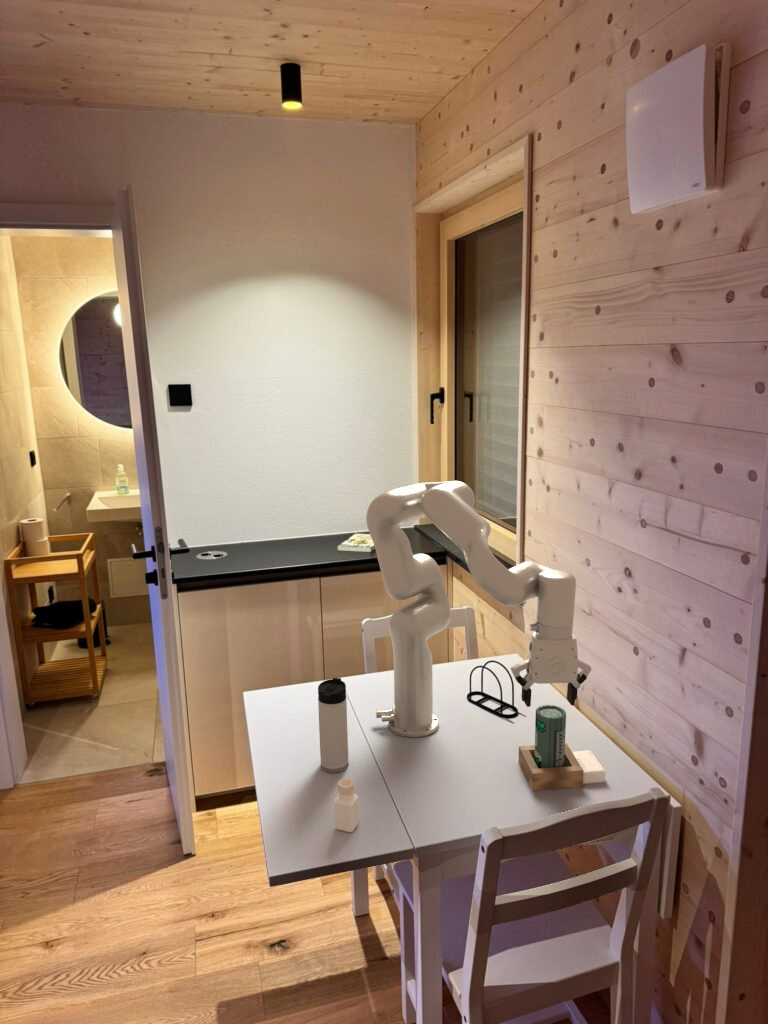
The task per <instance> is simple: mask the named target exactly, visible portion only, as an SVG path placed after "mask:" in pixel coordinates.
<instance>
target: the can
mask: <svg viewBox="0 0 768 1024" xmlns="http://www.w3.org/2000/svg"><path fill="white" fill-rule="evenodd" d="M564 709H565V708H562V707H561V706H557V705H553V704H552V705H550V704H544V705H542V706H541V705H539V706H538V707H537V708H536V709H535V720H534V722H535V724H534V725H535V726H534V727H535V728H534V729H535V730H534V745H535V758H534V761H535V763H536V765H537V767H538V769H539V768H555V767H564V759H565V743H566V729H567V728H566V727H567V726H566V725H567V712H566V711H565V710H564Z"/></svg>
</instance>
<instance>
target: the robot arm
mask: <svg viewBox="0 0 768 1024" xmlns="http://www.w3.org/2000/svg"><path fill="white" fill-rule="evenodd" d="M475 504H476V495H475V493H474V491H473V489H472V488H471V487H470V486H469V484H467V483H465V482H462V481H459V480H449V481H436V482H434V481H433V482H421V483H414V484H410V485H406V486H402V487H398V488H394V489H390V490H387V491H385V492H382V493H380V494H379V495H378V496H376V497H375V498H374V499H373V500H372V501H371V502H370V503H369V506H368V507H367V512H366V517H365V519H366V526H367V529H368V533H369V536H370V537H371V540H372V543H373V546H374V548H375V549H374V550H375V552H376V558H377V561H378V564H379V569H380V572H381V576H382V580H383V584H384V588H385V591H386V594H387V595H388V596H389V598H391V599H393V600H394V601H397V602H399V601H400V602H402V601H405V600H408V599H411V598H413V597H414V599H415V600H414V601H412V602H411V601H410V603H409V602H408V603H407V604H405V605H403V606H401V607H399V608H397V610H396V611H394V612H393V614H392V615H391V617H390V619H389V622H388V628H389V629H388V631H389V635H390V640H391V644H392V654H393V694H394V695H393V698H394V699H393V700H394V701H393V702H394V703H393V704H392V703H391V708H388V709H376V711H375V716H376V717H375V718H376V719H381V722H382V723H384V722H388V727H389V729H390V731H392V732H393V733H394V734H397V735H399V736H402V737H408V738H420V737H425V736H429V735H431V734H433V733H435V732H436V731H437V730H438V728H439V726H440V720H439V717H438V716H437V715H435V713H433V712H434V711H433V710H434V709H433V702H434V701H433V693H434V692H433V655H432V652H431V650H430V647H429V645H428V639H429V638H431V637H433V636H434V635H436V634H438V633H440V632H442V631H443V630H444V629H446V628H447V627H448V625H449V624H450V621H451V617H452V616H451V614H452V613H451V606H450V602H449V598H448V594H447V590H446V586H445V582H444V578H443V575H442V570H441V568H440V566H439V565H438V562H436V560H435V559H434V558H433V557H431V556H430V555H428V554H425V553H415V554H414V553H413V551H412V545H411V542H410V540H409V538H408V536H407V534H406V532H405V531H404V530H403V529H402V528H401V525H405V524H406V523H410V522H413V521H416V520H420V519H424V518H427V520H429V522H431V523H432V524H433V525H434V526H435V527H436V528H437V529H438V530H439V531H441V532H442V533H443V535H444V536H446V537H447V538H448V539H449V540H450V541H451V542H452V543H453V544H454V545H455V546H456V547H457V548H458V549H459V550H461V552H462V553H463V555H464V560H465V563H466V565H467V568H468V570H469V572H470V575H471V577H472V578H473V579H474V581H475V582H476V583H477V584H478V585H479V587H481V588H482V589H483V590H484V591H485V592H486V594H488V595H489V596H490V597H491V598H492V599H493V600H494V601H497V602H498V603H499V604H501V605H503V606H505V607H511V608H512V607H517V606H519V605H522V604H523V603H525V602H526V601H528V600H530V599H534V598H537V603H536V607H537V608H536V619H535V620H534V623H531V624H529V625H528V627H529V631H530V632H531V631H533V632H532V635H531V638H530V641H529V645H528V651H527V656H526V659H525V660H523V661H521V662H518V663H517V664H515V665H513V666H511V667H510V671H511V673H512V675H513V677H514V679H515V681H516V682H517V683H518V684H519V685H520V686H521V700H522V702H523V703H524V704H525V706H526V708H530V707H531V705H532V689H531V687H532V686H533V685H534V684H540V685H541V684H567V686H566V688H567V689H566V700H567V702H568V703H569V704H570V705H571V706H575V705H576V704H575V703H576V701H577V699H578V691H579V690H578V689H579V688H580V687H581V685H582V684H583V683H584V682H585V681H587V677H588V676H589V674H590V673H591V671H592V670H593V668H592V666H590V664H588V663H586V662H584V661H582V660H580V659H579V657H578V655H579V653H578V643H577V636H576V635H575V634H574V633H573V628H574V617H575V616H574V614H575V602H576V589H577V580H576V579H577V578H576V577H575V575H574V574H572V573H571V572H570V571H569V572H568V571H566V570H561V569H552V568H550V567H548V566H545V565H543V564H540V563H538V562H535V561H523V562H521V563H519V564H517V565H515V566H513V567H510V568H507V567H506V566H505V565H504V564H503V563H502V562H500V560H499V559H497V557H496V556H495V555H494V554H493V552H492V551H491V549H490V546H489V543H488V542H489V541H488V540H489V536H490V534H491V524H490V523H489V522H488V521H487V520H486V519H485V518H484V517H482V515H480V514H479V513H478V512H477V511H476V510H475V509H474V507H475ZM579 669H581V670H580V672H579ZM524 670H526V674H524V676H522V675H521V674H520V673H521V672H523V671H524Z"/></svg>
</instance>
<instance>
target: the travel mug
mask: <svg viewBox="0 0 768 1024" xmlns="http://www.w3.org/2000/svg"><path fill="white" fill-rule="evenodd" d="M317 694H318V695H317V696H318V698H317V702H318V703H317V704H318V726H319V727H318V729H319V731H318V732H319V749H320V750H319V751H320V752H319V753H320V767H321V769H322V770H323V771H324V772H327V773H328V774H329V773H330V774H337V773H342V772H343V771H346V770H347V769H348V767H349V742H348V740H349V739H348V737H349V735H348V708H347V707H348V705H347V704H348V703H347V684H346V683H345V682H344V681H343V680H342V678H340V677H339V678H338V677H333V678H332V679H327V680H326V679H325V680H324V681H322V682H321V683H320V684H319V685H318V686H317Z"/></svg>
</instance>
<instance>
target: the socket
mask: <svg viewBox="0 0 768 1024" xmlns="http://www.w3.org/2000/svg"><path fill="white" fill-rule="evenodd" d="M572 752H573V751H572V750H571V748H570V747H569V745H568V743H566V742H565V759H564V767H555V768H539V769H538V767H537V765H536V763H535V761H534V758H535V744H534V745H533V744H532V745H522V746H521V745H520V746H519V745H518V764H519V766H520V768H521V770H522V773H523V774H524V776H525V779H526V781H527V783H528V784H529V785H528V786H529V787H530V789H531V791H532V792H533V791H549V790H562V789H575V788H576V789H577V788H583V787H584V784H583V771H584V770H583V769H582V767H581V766H580V764H579V762H578V761H577V759H576V758H575V756H574V754H573V753H572Z"/></svg>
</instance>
